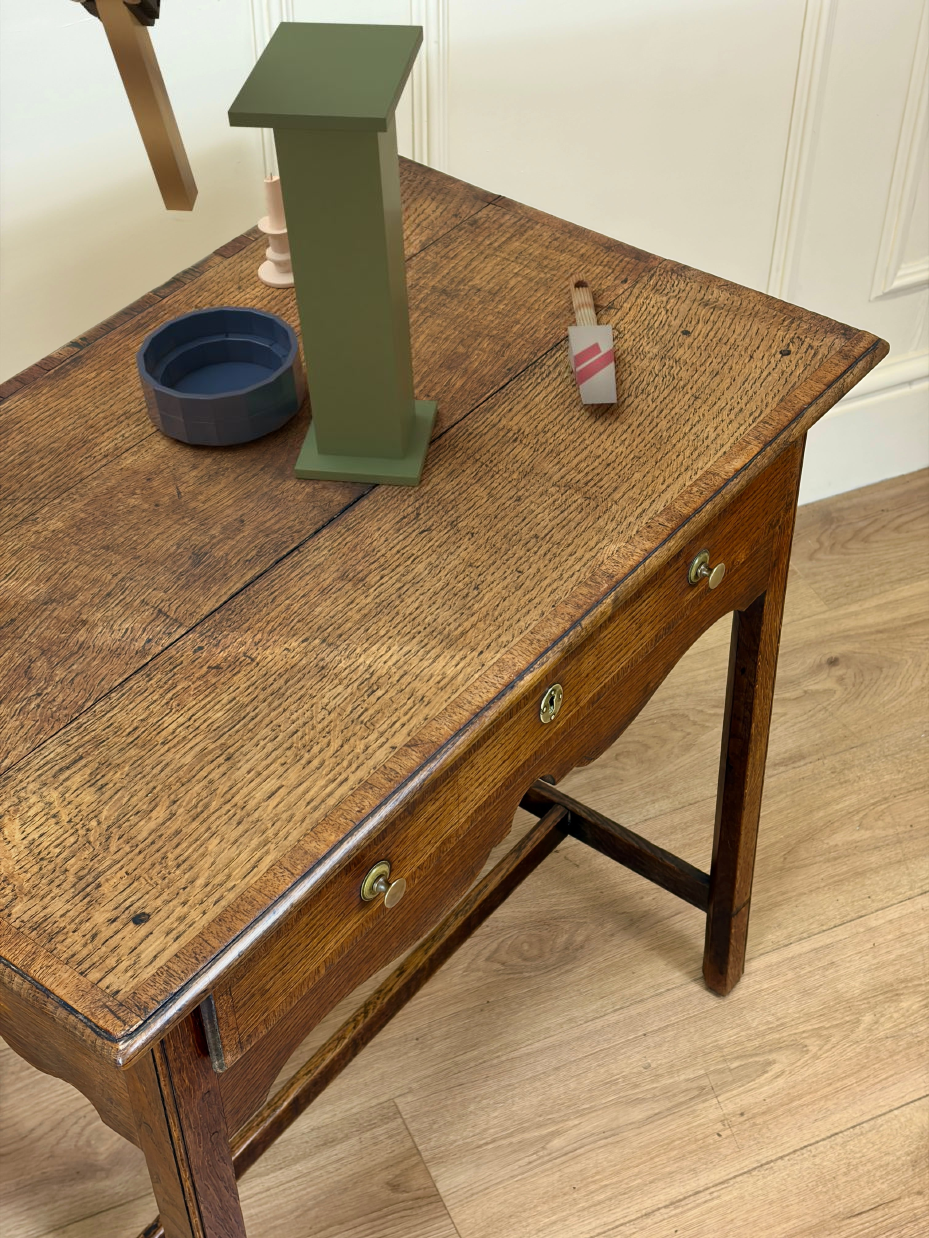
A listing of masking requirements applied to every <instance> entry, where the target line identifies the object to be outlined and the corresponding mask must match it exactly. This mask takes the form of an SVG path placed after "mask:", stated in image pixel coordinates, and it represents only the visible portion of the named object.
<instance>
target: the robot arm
mask: <svg viewBox="0 0 929 1238" xmlns="http://www.w3.org/2000/svg"><path fill="white" fill-rule="evenodd" d="M70 1H71V2H74V3H79V4H80V5H81V6H82V7H83V8H84V9H85V11H86V12H87V13H88V14H90V15H91V16H93V17H95V18H97V20H99V21H100V23H102V21H101V18H100V15H99V12H98V9H97V5H96V2H95V0H70ZM122 1H123V4H124V5H125V6H126V7H127V8H128V9H129V10H130V11H131V12H132V14H133V15H134V16H135V17H136V18H137V20H138V21H139V22H140V23H141V25H142V26H147V27H155V24H156V20H160V12H161V0H122Z"/></svg>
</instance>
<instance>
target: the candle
mask: <svg viewBox="0 0 929 1238" xmlns="http://www.w3.org/2000/svg"><path fill="white" fill-rule="evenodd" d="M263 185H264V193H265V194H264V195H265V203H266V211H267V215H265V216H262V217H261V218H260V219H259V220H258V222H257V228H258V230H259V231H260V232H262V233H265V234H266V235H267V234H268V242H269V247H267V249H266V250H265V257H266V259H267V260H265V261H264V262H263V263H261V265H259V268H258V270H257V275H258V276H257V277H258V279H259V281H260V282H261V283H263V284H264V285H266V286H268V287H272V288H277V289H278V288H279V289H289V288H295V286H294V278H293V271H292V264H291V257H290V250H289V242H288V235H287V228H286V221H285V214H284V206H283V199H282V192H281V185H280V177H279V175H273V173H272V172H270V176H269V177H266V178H265V179H264V180H263Z"/></svg>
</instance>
